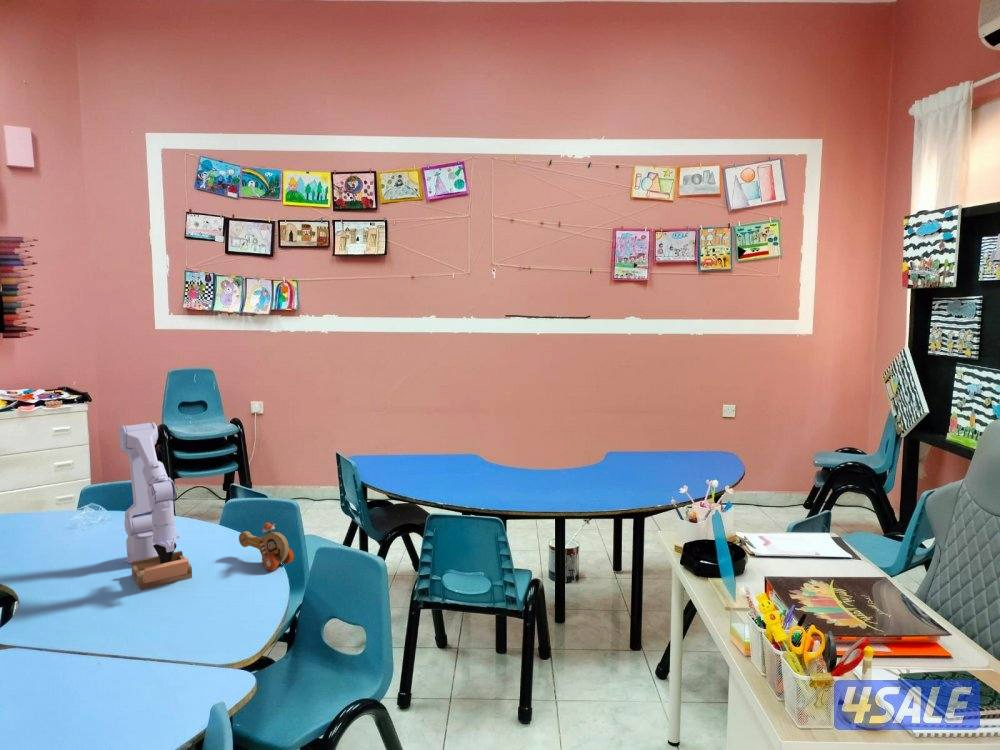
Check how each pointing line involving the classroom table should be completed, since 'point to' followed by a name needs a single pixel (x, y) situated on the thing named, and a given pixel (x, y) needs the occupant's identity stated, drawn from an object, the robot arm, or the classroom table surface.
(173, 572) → the orange rectangular block
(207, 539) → the classroom table surface
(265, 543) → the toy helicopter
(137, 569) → the open wooden crate
